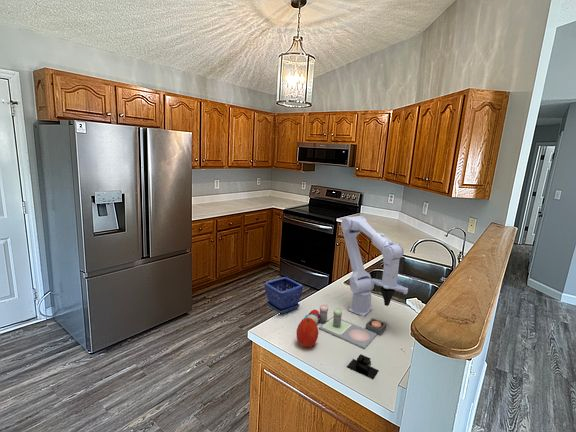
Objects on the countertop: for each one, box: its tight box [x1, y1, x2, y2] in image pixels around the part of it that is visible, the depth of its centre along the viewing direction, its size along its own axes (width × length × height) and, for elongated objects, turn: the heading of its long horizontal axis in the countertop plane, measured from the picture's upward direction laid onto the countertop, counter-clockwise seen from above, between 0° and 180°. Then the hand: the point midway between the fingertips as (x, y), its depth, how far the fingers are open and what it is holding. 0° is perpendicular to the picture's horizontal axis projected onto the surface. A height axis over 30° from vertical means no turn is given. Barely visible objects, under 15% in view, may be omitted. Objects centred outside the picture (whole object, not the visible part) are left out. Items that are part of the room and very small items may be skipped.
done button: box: [371, 320, 381, 329], centre depth 127 cm, size 4×4×2 cm
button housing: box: [364, 317, 388, 337], centre depth 127 cm, size 6×6×2 cm
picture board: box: [318, 315, 378, 350], centre depth 125 cm, size 12×20×1 cm, turn 52°
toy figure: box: [303, 309, 320, 325], centre depth 128 cm, size 8×5×15 cm
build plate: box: [346, 353, 380, 380], centre depth 103 cm, size 12×7×5 cm, turn 54°
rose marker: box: [318, 304, 329, 325], centre depth 131 cm, size 4×4×7 cm
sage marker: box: [332, 307, 343, 328], centre depth 127 cm, size 4×4×7 cm
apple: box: [296, 317, 319, 348], centre depth 115 cm, size 8×8×11 cm
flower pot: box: [264, 276, 304, 315], centre depth 141 cm, size 13×13×12 cm
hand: (386, 304), depth 127 cm, fingers closed
